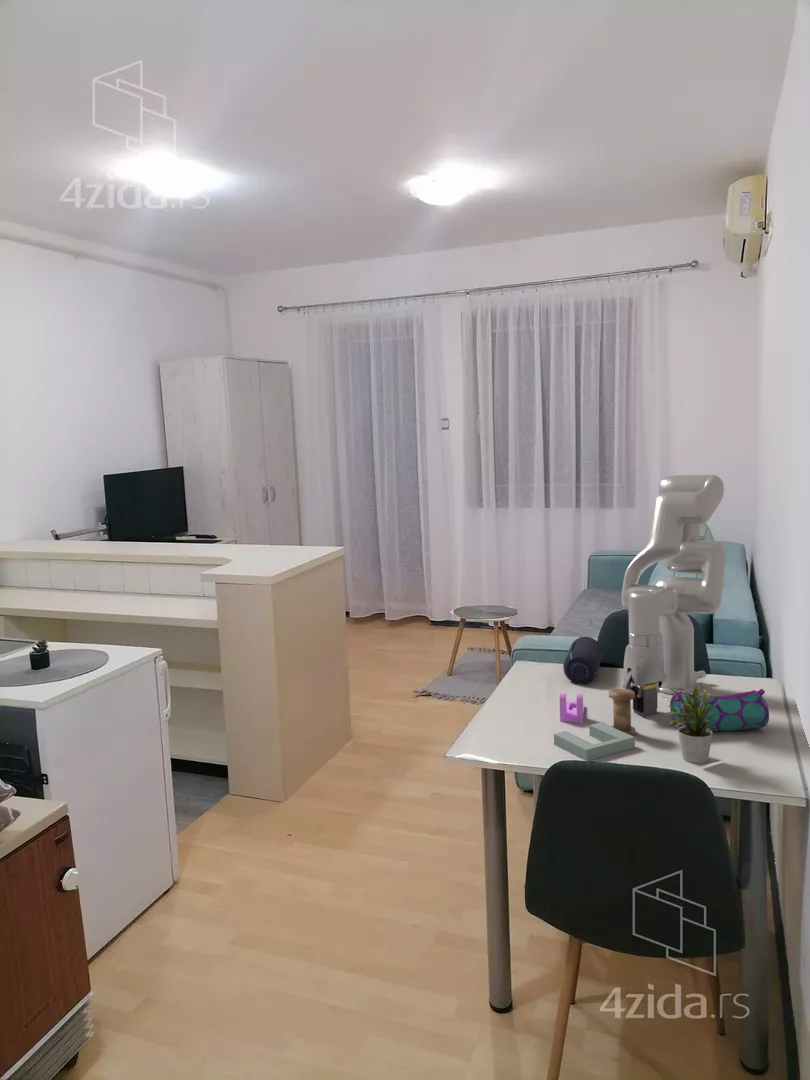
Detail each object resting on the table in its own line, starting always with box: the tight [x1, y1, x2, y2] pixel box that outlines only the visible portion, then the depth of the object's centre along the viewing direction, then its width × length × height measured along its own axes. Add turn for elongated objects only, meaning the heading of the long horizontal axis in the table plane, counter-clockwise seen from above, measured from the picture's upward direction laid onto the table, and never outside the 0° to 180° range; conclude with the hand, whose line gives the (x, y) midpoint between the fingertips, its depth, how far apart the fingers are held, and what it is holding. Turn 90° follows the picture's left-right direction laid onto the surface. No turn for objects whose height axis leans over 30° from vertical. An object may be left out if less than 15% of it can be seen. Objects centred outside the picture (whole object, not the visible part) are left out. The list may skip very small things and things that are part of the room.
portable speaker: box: [562, 636, 603, 685], centre depth 231 cm, size 25×10×10 cm, turn 162°
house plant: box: [662, 682, 722, 765], centre depth 167 cm, size 14×14×16 cm
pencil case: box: [669, 688, 770, 732], centre depth 183 cm, size 21×9×10 cm, turn 87°
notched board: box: [553, 721, 636, 761], centre depth 176 cm, size 14×12×2 cm
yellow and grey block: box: [633, 683, 658, 718], centre depth 195 cm, size 4×4×8 cm
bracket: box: [559, 692, 585, 723], centre depth 198 cm, size 13×6×7 cm, turn 165°
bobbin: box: [608, 688, 636, 737], centre depth 183 cm, size 6×6×10 cm
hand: (645, 708), depth 196 cm, fingers closed on yellow and grey block, 4 cm apart
